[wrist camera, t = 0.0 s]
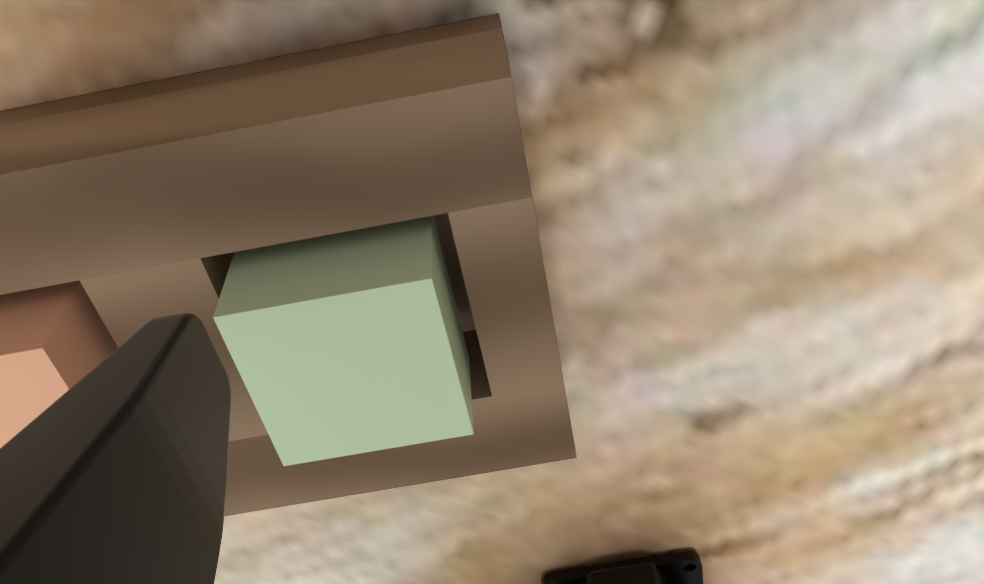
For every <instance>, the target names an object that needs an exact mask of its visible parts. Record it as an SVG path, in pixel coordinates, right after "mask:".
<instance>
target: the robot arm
mask: <svg viewBox="0 0 984 584" xmlns="http://www.w3.org/2000/svg"><path fill="white" fill-rule="evenodd" d="M230 409H231V387H230V382H229V378H228V375H227V372H226V370H225V368H224V366H223V364H222V362H221V360H220V358H219V356H218V354H217V351H216V349H215V347H214V345H213V343H212V341H211V339H210V337H209V335H208V333H207V331H206V329H205V327H204V325H203V323H202V321H201V320H200V319H199V318H198V317H197V316H196V315H194V314H192V313H183V314H177V315H171V316H166V317H160V318H155V319H153V320H150V321H149V322H148V323H146V324H145V325H144V326H143V327H142V328H141V329H139V330H138V331H137V332H136V333H135V334H134V335H132V336H131V337H130V338H129V339H128V340H127V341H125V342H124V343H123V344H122V345H121V346H120V347H118V348H117V349H116V350H115V351H114V352H112V353H111V354H110V355H109V356H108V357H107V358H105V359H104V360H103V361H102V362H101V363H100V364H98V365H97V366H96V367H95V368H94V369H93V370H91V371H90V372H89V373H88V374H87V375H86V376H84V377H83V378H82V379H81V380H80V381H79V382H77V383H76V384H75V385H74V386H73V387H71V388H70V389H69V390H68V391H67V392H66V393H64V394H63V395H62V396H61V397H60V398H59V399H57V400H56V401H55V402H54V403H53V404H52V405H50V406H49V407H48V408H47V409H46V410H45V411H43V412H42V413H41V414H40V415H39V416H37V417H36V418H35V419H34V420H33V421H32V422H30V423H29V424H28V425H27V426H26V427H25V428H23V429H22V430H21V431H20V432H19V433H18V434H16V435H15V436H14V437H13V438H12V439H11V440H9V441H8V442H7V443H6V444H5V445H4V446H2V447H1V448H0V584H214V579H215V574H216V568H217V563H218V557H219V551H220V545H221V538H222V532H223V521H224V510H225V493H226V477H227V460H228V443H229V426H230ZM541 584H703V574H702V564H701V560H700V557H699V555H698V554H697V553H695V552H682V553H676V554H669V555H663V556H657V557H650V558H644V559H638V560H631V561H625V562H619V563H613V564H606V565H600V566H594V567H587V568H581V569H575V570H568V571H562V572H556V573H550V574H547V575H545V576H544V577H543V578H542V579H541Z"/></svg>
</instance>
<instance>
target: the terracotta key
mask: <svg viewBox="0 0 984 584" xmlns="http://www.w3.org/2000/svg"><path fill="white" fill-rule="evenodd" d="M117 348H118V347H117V345H116V343H115V341H114V340H113V338H112V336H111V335H110V333H109V331H108V329H107V328H106V326H105V324H104V322H103V321H102V319H101V317H100V315H99V314H98V312H97V310H96V308H95V307H94V305H93V303H92V302H91V300H90V298H89V296H88V295H87V293H86V291H85V289H84V288H83V286H82V284H81V282H80V281H74V282H68V283H63V284H57V285H52V286H46V287H41V288H35V289H30V290H24V291H19V292H14V293H8V294H3V295H0V448H1V447H2V446H4V445H5V444H6V443H7V442H8V441H9V440H11V439H12V438H13V437H14V436H15V435H16V434H18V433H19V432H20V431H21V430H22V429H23V428H25V427H26V426H27V425H28V424H29V423H30V422H32V421H33V420H34V419H35V418H36V417H37V416H39V415H40V414H41V413H42V412H43V411H45V410H46V409H47V408H48V407H49V406H50V405H52V404H53V403H54V402H55V401H56V400H57V399H59V398H60V397H61V396H62V395H63V394H64V393H66V392H67V391H68V390H69V389H70V388H71V387H73V386H74V385H75V384H76V383H77V382H79V381H80V380H81V379H82V378H83V377H84V376H86V375H87V374H88V373H89V372H90V371H91V370H93V369H94V368H95V367H96V366H97V365H98V364H100V363H101V362H102V361H103V360H104V359H105V358H107V357H108V356H109V355H110V354H111V353H112V352H114V351H115V350H116V349H117Z"/></svg>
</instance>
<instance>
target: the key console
mask: <svg viewBox="0 0 984 584" xmlns="http://www.w3.org/2000/svg"><path fill="white" fill-rule="evenodd" d="M428 216H433V217H434V221H435V225H436V229H437V233H438V237H439V241H440V245H441V249H442V253H443V257H444V260H445V264H446V268H447V272H448V276H449V280H450V284H451V288H452V292H453V296H454V300H455V304H456V308H457V311H458V315H459V319H460V323H461V327H462V331H463V335H464V339H465V343H466V347H467V351H468V355H469V362H470V379H471V396H472V413H473V430H474V434H473V435H467V436H461V437H455V438H449V439H443V440H437V441H431V442H425V443H419V444H413V445H407V446H401V447H395V448H389V449H383V450H378V451H372V452H366V453H360V454H354V455H348V456H342V457H336V458H330V459H324V460H318V461H312V462H306V463H300V464H294V465H288V466H283V464H282V462H281V460H280V458H279V455H278V453H277V451H276V449H275V447H274V445H273V443H272V441H271V439H270V436H269V434H268V432H267V430H266V428H265V426H264V424H263V422H262V420H261V418H260V415H259V413H258V411H257V409H256V407H255V405H254V403H253V401H252V399H251V396H250V394H249V392H248V390H247V388H246V386H245V384H244V382H243V380H242V378H241V375H240V373H239V371H238V369H237V367H236V365H235V363H234V361H233V359H232V356H231V354H230V352H229V350H228V348H227V346H226V344H225V342H224V340H223V338H222V335H221V333H220V331H219V329H218V327H217V325H216V323H215V321H214V319H213V316H214V313H215V310H216V307H217V304H218V301H219V298H220V294H221V291H222V288H223V285H224V282H225V279H226V276H227V273H228V270H229V267H230V264H231V260H232V257H233V254H234V252H237V251H243V250H248V249H254V248H259V247H264V246H270V245H275V244H281V243H286V242H292V241H297V240H303V239H308V238H314V237H319V236H325V235H330V234H335V233H341V232H346V231H352V230H357V229H363V228H368V227H374V226H379V225H385V224H390V223H395V222H401V221H406V220H412V219H417V218H423V217H428ZM74 281H80V282H81V284H82V286H83V288H84V289H85V291H86V293H87V295H88V296H89V298H90V300H91V302H92V303H93V305H94V307H95V308H96V310H97V312H98V314H99V315H100V317H101V319H102V321H103V322H104V324H105V326H106V328H107V329H108V331H109V333H110V335H111V336H112V338H113V340H114V341H115V343H116V345H117V347H120V346H121V345H122V344H123V343H124V342H125V341H127V340H128V339H129V338H130V337H131V336H132V335H134V334H135V333H136V332H137V331H138V330H139V329H141V328H142V327H143V326H144V325H145V324H146V323H148V322H149V321H150V320H153V319H155V318H160V317H166V316H171V315H177V314H183V313H192V314H194V315H196V316H197V317H198V318H199V319H200V320H201V321H202V323H203V325H204V327H205V329H206V331H207V333H208V335H209V337H210V339H211V341H212V343H213V345H214V347H215V349H216V351H217V354H218V356H219V358H220V360H221V362H222V364H223V366H224V368H225V370H226V372H227V375H228V378H229V382H230V387H231V409H230V426H229V443H228V460H227V477H226V493H225V510H224V516H228V515H234V514H240V513H246V512H252V511H258V510H264V509H270V508H276V507H282V506H288V505H294V504H300V503H307V502H313V501H319V500H325V499H331V498H337V497H343V496H349V495H355V494H361V493H367V492H373V491H379V490H385V489H391V488H397V487H403V486H409V485H415V484H421V483H427V482H433V481H439V480H445V479H451V478H457V477H463V476H469V475H475V474H481V473H488V472H494V471H500V470H506V469H512V468H518V467H524V466H530V465H536V464H542V463H548V462H554V461H560V460H566V459H572V458H577V457H576V451H575V445H574V439H573V434H572V428H571V422H570V416H569V410H568V404H567V399H566V393H565V387H564V381H563V375H562V369H561V363H560V358H559V352H558V346H557V340H556V334H555V328H554V323H553V317H552V311H551V305H550V299H549V293H548V288H547V282H546V276H545V270H544V264H543V258H542V252H541V247H540V241H539V235H538V229H537V223H536V217H535V212H534V206H533V200H532V194H531V188H530V182H529V177H528V171H527V165H526V159H525V153H524V147H523V141H522V136H521V130H520V124H519V118H518V112H517V106H516V101H515V95H514V89H513V83H512V77H511V72H510V67H509V62H508V57H507V52H506V47H505V42H504V37H503V32H502V27H501V22H500V17H499V14H495V15H490V16H485V17H480V18H475V19H470V20H464V21H459V22H454V23H449V24H444V25H439V26H434V27H429V28H424V29H418V30H413V31H408V32H403V33H398V34H393V35H388V36H383V37H378V38H373V39H367V40H362V41H357V42H352V43H347V44H342V45H337V46H332V47H327V48H321V49H316V50H311V51H306V52H301V53H296V54H291V55H286V56H281V57H275V58H270V59H265V60H260V61H255V62H250V63H245V64H240V65H235V66H229V67H224V68H219V69H214V70H209V71H204V72H199V73H194V74H189V75H183V76H178V77H173V78H168V79H163V80H158V81H153V82H148V83H143V84H138V85H132V86H127V87H122V88H117V89H112V90H107V91H102V92H97V93H92V94H86V95H81V96H76V97H71V98H66V99H61V100H56V101H51V102H46V103H40V104H35V105H30V106H25V107H20V108H15V109H10V110H5V111H0V295H3V294H8V293H14V292H19V291H24V290H30V289H35V288H41V287H46V286H52V285H57V284H63V283H68V282H74Z"/></svg>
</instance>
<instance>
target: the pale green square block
mask: <svg viewBox="0 0 984 584" xmlns="http://www.w3.org/2000/svg"><path fill="white" fill-rule="evenodd" d="M213 319H214V321H215V323H216V325H217V327H218V329H219V331H220V333H221V335H222V338H223V340H224V342H225V344H226V346H227V348H228V350H229V352H230V354H231V356H232V359H233V361H234V363H235V365H236V367H237V369H238V371H239V373H240V375H241V378H242V380H243V382H244V384H245V386H246V388H247V390H248V392H249V394H250V396H251V399H252V401H253V403H254V405H255V407H256V409H257V411H258V413H259V415H260V418H261V420H262V422H263V424H264V426H265V428H266V430H267V432H268V434H269V436H270V439H271V441H272V443H273V445H274V447H275V449H276V451H277V453H278V455H279V458H280V460H281V462H282V464H283V466H288V465H294V464H300V463H306V462H312V461H318V460H324V459H330V458H336V457H342V456H348V455H354V454H360V453H366V452H372V451H378V450H383V449H389V448H395V447H401V446H407V445H413V444H419V443H425V442H431V441H437V440H443V439H449V438H455V437H461V436H467V435H473V434H474V430H473V413H472V396H471V379H470V362H469V355H468V351H467V347H466V343H465V339H464V335H463V331H462V327H461V323H460V319H459V315H458V311H457V308H456V304H455V300H454V296H453V292H452V288H451V284H450V280H449V276H448V272H447V268H446V264H445V260H444V257H443V253H442V249H441V245H440V241H439V237H438V233H437V229H436V225H435V221H434V217H433V216H428V217H423V218H417V219H412V220H406V221H401V222H395V223H390V224H385V225H379V226H374V227H368V228H363V229H357V230H352V231H346V232H341V233H335V234H330V235H325V236H319V237H314V238H308V239H303V240H297V241H292V242H286V243H281V244H275V245H270V246H264V247H259V248H254V249H248V250H243V251H237V252H234V254H233V257H232V260H231V264H230V267H229V270H228V273H227V276H226V279H225V282H224V285H223V288H222V291H221V294H220V298H219V301H218V304H217V307H216V310H215V313H214V316H213Z"/></svg>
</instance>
